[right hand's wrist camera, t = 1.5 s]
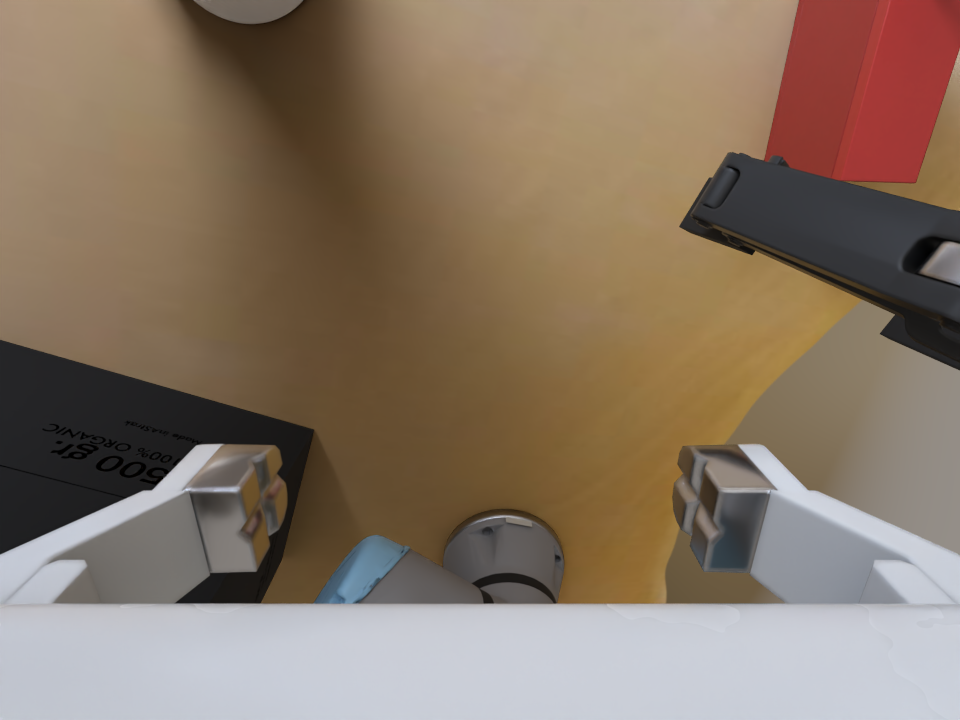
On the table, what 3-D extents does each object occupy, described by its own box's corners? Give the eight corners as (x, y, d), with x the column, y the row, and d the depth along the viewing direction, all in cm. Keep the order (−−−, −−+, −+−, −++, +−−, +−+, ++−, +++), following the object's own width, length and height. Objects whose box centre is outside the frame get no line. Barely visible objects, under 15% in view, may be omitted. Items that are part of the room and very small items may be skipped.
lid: (898, -74, 33) (1039, -151, 25) (984, -70, 34) (1154, -147, 25) (830, 180, 39) (926, 187, 31) (904, 182, 39) (1020, 190, 31)
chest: (801, -12, 43) (893, -60, 34) (868, -10, 43) (979, -57, 34) (760, 175, 49) (829, 180, 39) (820, 177, 49) (903, 182, 39)
